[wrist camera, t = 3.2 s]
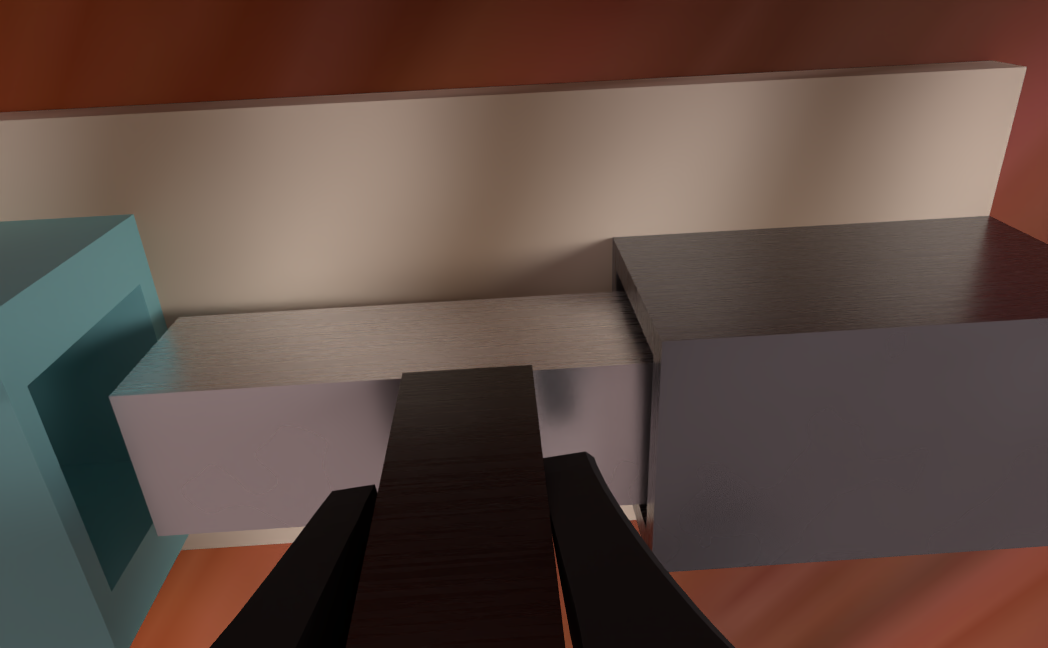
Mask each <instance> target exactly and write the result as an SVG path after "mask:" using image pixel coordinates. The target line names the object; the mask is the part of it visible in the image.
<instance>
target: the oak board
mask: <svg viewBox="0 0 1048 648" xmlns="http://www.w3.org/2000/svg"><path fill="white" fill-rule="evenodd" d="M1026 68H1027V67H1025V66H1019V65H1014V64H1008V63H1002V62H997V61H975V62H956V63H937V64H918V65H899V66H880V67H860V68H841V69H822V70H803V71H784V72H765V73H746V74H727V75H708V76H688V77H669V78H650V79H631V80H612V81H593V82H574V83H555V84H536V85H516V86H497V87H478V88H459V89H440V90H421V91H402V92H383V93H364V94H344V95H325V96H306V97H287V98H268V99H249V100H230V101H211V102H192V103H172V104H153V105H134V106H115V107H96V108H77V109H58V110H39V111H20V112H0V222H2V221H20V220H38V219H56V218H74V217H91V216H109V215H127V214H134V217H135V221H136V224H137V228H138V231H139V234H140V238H141V241H142V244H143V248H144V251H145V255H146V258H147V261H148V265H149V268H150V272H151V275H152V278H153V282H154V285H155V288H156V292H157V295H158V299H159V302H160V305H161V309H162V312H163V315H164V319H165V322H166V326H167V329H169V328H170V327H171V326H172V324H173V323H174V322H175V321H176V320H177V319H178V318H179V317H192V316H208V315H225V314H242V313H259V312H276V311H293V310H310V309H326V308H343V307H360V306H377V305H394V304H411V303H428V302H445V301H461V300H478V299H495V298H512V297H529V296H546V295H563V294H579V293H596V292H612V250H613V237H628V236H645V235H663V234H680V233H698V232H715V231H732V230H750V229H767V228H785V227H802V226H819V225H837V224H854V223H872V222H889V221H906V220H924V219H941V218H959V217H976V216H989V214H990V210H991V206H992V202H993V198H994V194H995V190H996V186H997V183H998V179H999V175H1000V171H1001V167H1002V163H1003V159H1004V155H1005V151H1006V147H1007V143H1008V139H1009V135H1010V131H1011V127H1012V123H1013V120H1014V116H1015V112H1016V108H1017V104H1018V100H1019V96H1020V92H1021V88H1022V84H1023V80H1024V76H1025V72H1026ZM620 507H621V508H622V510H623V512H624V513H625V515H626V516H627V518H628V519H629V520H636V516H635V512H634V509H633V505H622V506H620ZM303 528H304V527H290V528H275V529H260V530H245V531H230V532H215V533H200V534H189V535H188V537H187V539H186V541H185V543H184V545H183V547H182V549H181V550H191V549H206V548H221V547H236V546H251V545H266V544H281V543H293V542H294V541H295V539H296V538H297V537H298V535H299V534H300V533H301V531H302V530H303Z"/></svg>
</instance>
